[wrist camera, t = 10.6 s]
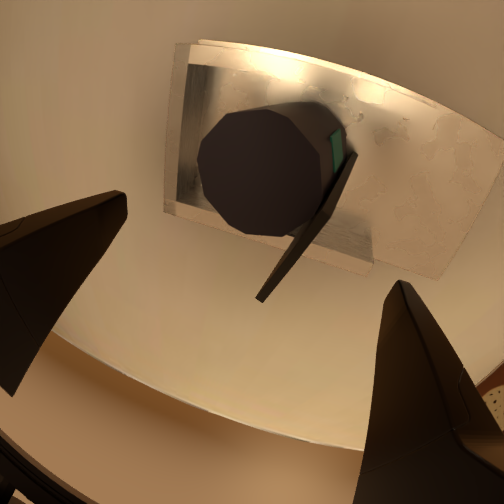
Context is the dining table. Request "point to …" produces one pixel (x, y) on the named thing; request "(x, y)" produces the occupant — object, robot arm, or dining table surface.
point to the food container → (494, 393)
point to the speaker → (276, 174)
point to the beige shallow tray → (358, 140)
